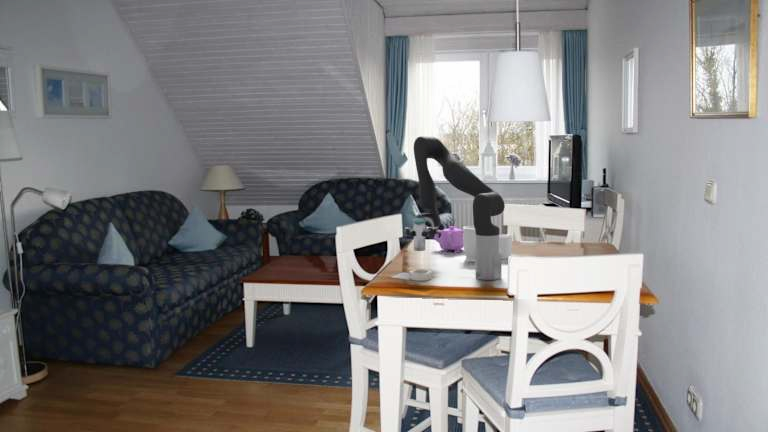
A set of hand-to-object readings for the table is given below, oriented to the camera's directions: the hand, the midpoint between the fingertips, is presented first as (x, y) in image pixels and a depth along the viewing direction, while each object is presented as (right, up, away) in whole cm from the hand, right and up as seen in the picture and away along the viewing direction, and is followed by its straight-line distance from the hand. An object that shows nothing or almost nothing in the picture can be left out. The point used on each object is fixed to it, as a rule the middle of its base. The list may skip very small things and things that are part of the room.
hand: (418, 234), depth 261 cm
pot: (+19, -10, +69) cm, 72 cm away
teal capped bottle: (+1, -6, +4) cm, 7 cm away
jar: (+27, -13, +43) cm, 52 cm away
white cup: (+40, -12, +48) cm, 64 cm away
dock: (-1, -18, +8) cm, 20 cm away
